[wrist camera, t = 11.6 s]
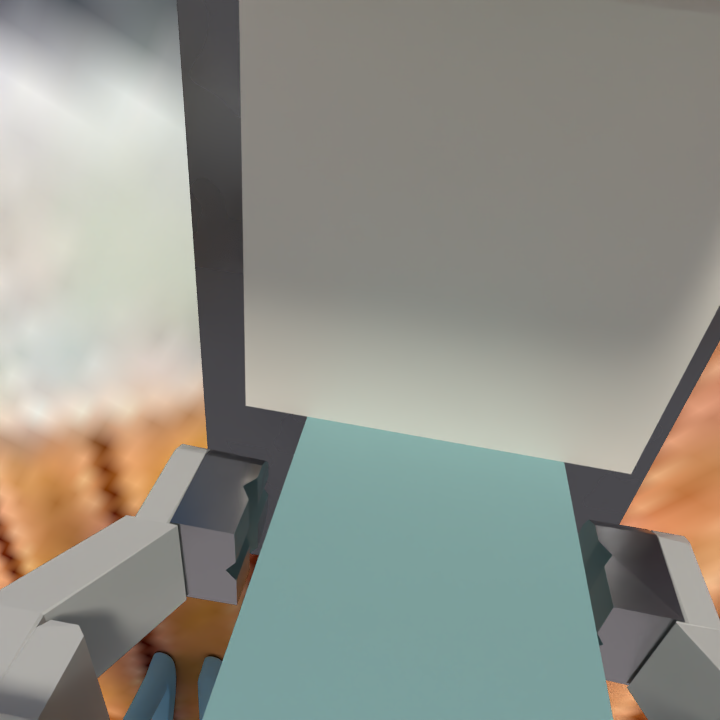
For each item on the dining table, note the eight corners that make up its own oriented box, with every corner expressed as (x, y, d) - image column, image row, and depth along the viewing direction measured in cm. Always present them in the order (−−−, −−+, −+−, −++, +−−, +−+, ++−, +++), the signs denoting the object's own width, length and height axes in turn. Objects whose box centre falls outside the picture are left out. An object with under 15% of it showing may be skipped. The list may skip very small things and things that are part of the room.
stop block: (363, 254, 14) (132, 921, 4) (530, 281, 14) (676, 1051, 4) (348, 384, 16) (176, 1011, 7) (490, 409, 16) (526, 1098, 6)
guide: (226, -771, 7) (97, -1159, 5) (1125, -730, 6) (1543, -1163, 4) (246, 470, 19) (214, 546, 17) (556, 528, 18) (569, 615, 16)
